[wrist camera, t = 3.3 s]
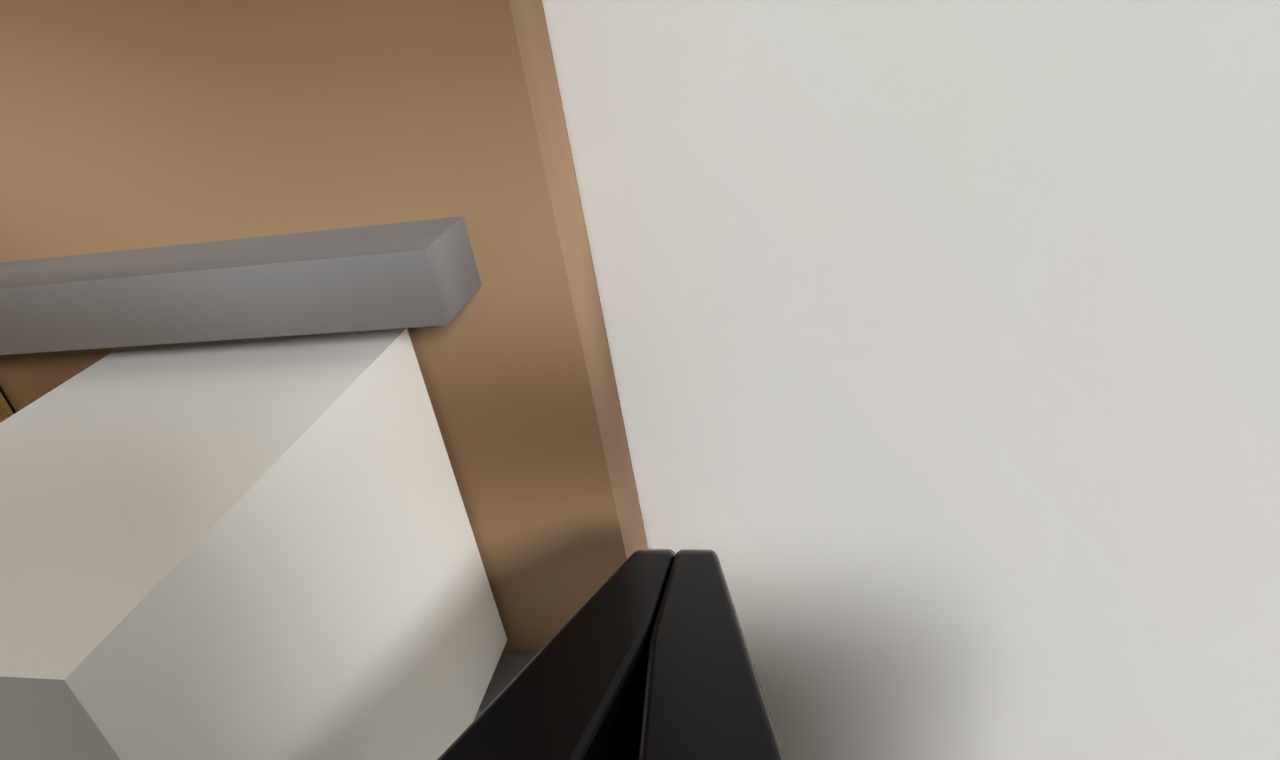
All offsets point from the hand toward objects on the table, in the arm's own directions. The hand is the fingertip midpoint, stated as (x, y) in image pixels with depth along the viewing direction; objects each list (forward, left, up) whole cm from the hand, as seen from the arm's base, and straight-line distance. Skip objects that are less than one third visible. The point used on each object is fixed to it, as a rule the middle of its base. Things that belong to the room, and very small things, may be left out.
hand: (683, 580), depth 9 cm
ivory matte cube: (0, +6, -1) cm, 6 cm away
